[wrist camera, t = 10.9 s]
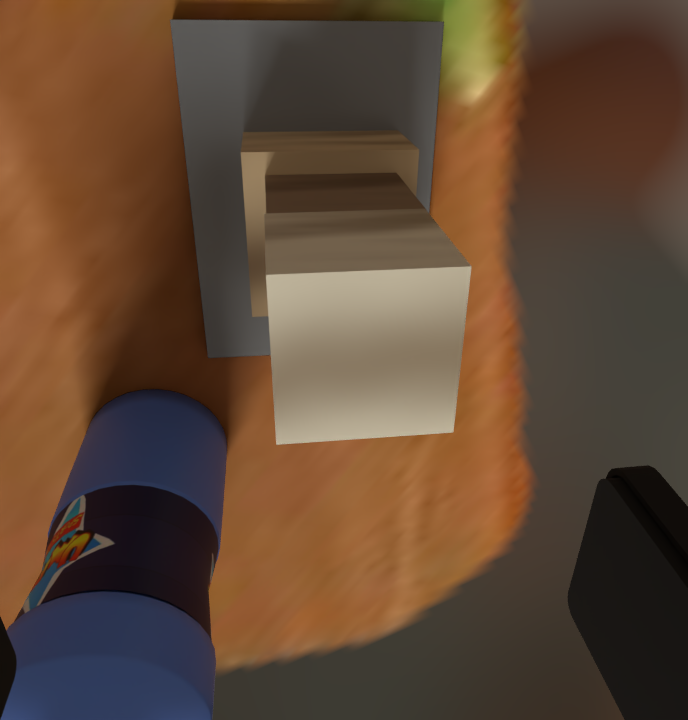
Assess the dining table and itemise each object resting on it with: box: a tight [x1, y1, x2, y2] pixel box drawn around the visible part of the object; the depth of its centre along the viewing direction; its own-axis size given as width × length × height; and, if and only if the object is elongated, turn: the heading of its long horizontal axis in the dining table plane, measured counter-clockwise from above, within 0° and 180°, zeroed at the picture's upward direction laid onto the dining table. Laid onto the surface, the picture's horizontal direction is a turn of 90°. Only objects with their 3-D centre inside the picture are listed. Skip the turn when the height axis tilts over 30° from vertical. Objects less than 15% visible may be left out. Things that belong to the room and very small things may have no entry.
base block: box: [241, 130, 419, 317], centre depth 32 cm, size 8×8×5 cm
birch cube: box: [264, 209, 471, 445], centre depth 22 cm, size 6×6×6 cm
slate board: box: [170, 19, 444, 358], centre depth 35 cm, size 18×13×1 cm
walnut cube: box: [265, 173, 427, 213], centre depth 27 cm, size 6×6×6 cm
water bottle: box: [1, 389, 227, 720], centre depth 31 cm, size 9×9×25 cm
